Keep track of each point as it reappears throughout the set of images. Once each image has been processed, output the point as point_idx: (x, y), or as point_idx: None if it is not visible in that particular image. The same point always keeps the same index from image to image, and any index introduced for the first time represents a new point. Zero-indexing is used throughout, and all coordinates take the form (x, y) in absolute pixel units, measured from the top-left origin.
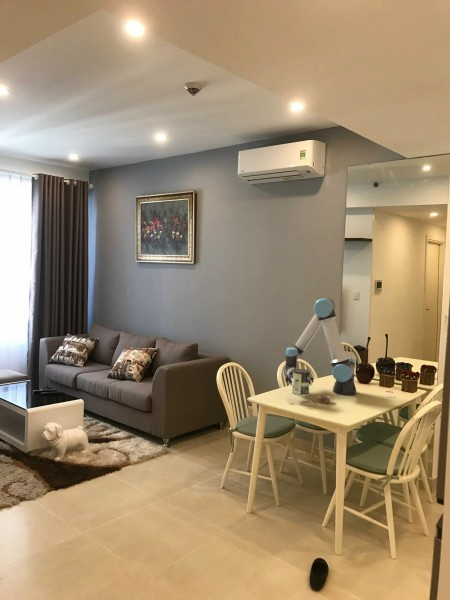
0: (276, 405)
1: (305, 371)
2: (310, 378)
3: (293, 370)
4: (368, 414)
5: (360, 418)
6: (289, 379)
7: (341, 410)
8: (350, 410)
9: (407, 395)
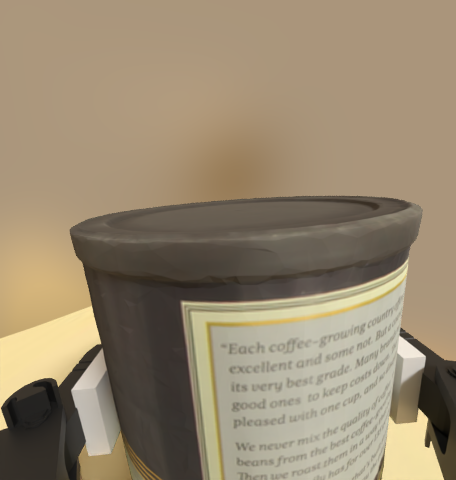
0: (427, 420)
1: (184, 211)
2: (49, 392)
3: (377, 199)
4: (19, 334)
5: (92, 307)
6: (435, 356)
7: (72, 365)
8: (28, 369)
9: None
